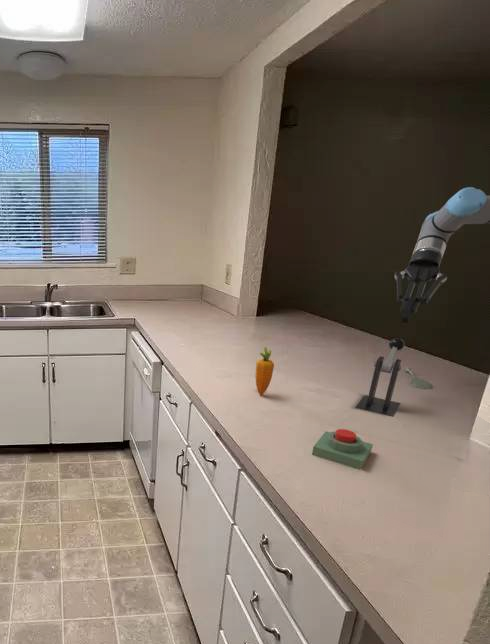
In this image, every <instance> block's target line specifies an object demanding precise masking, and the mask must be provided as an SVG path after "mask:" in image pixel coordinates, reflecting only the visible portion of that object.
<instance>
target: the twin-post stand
mask: <svg viewBox="0 0 490 644" xmlns="http://www.w3.org/2000/svg"><path fill="white" fill-rule="evenodd" d="M384 360H385V357H384V356H381V355H380V356H378V358H377V359H376V361H374V365H373V366H374V371H373V375H372V379H371V382H370V383H371V384H370V387H369V391H368V395H365V394H363V396H362V398H361V399H360V400H359V402H358V403H357V404H356V406H355V407H354V408H355V409H357V410H362V411H367V412H370V413H375V414H379V415H382V416H383V415H384V416H387V417H393V418H394V416H395V414H396V413H397V411H398V409H399V407H400V405H401V402H399V401H395V400H392V398H393V394H394V390H395V387H396V382H397V379H398V374H399V372H400V371H401V369H402V365H401V363H402V359H399V358H396V360H394V364H393V368H392V371H391V373H390V379H389V383H388V387H387V389H386V390H387V391H386V395H385V399H384V398H379V397H375V396H376V392H377V388H378V383H379V380H380V375H381V373H382V372H381V369H382V364H383V362H384Z"/></svg>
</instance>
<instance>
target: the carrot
mask: <svg viewBox="0 0 490 644" xmlns="http://www.w3.org/2000/svg"><path fill="white" fill-rule="evenodd" d="M263 351H264V352H262V351H260V352H259V353H258V354H259V355H260V356H261V357H262V358H261V359H258V360H257V361H256V364H255V386H256V391H257V393H258V394H259V396H262V395H264V394H265V392H267V389H268V388H269V386H270V384H271V381H272V377H273V373H274V369H275V368H274V366H275V362H273V360H271V359H270V357H271V354H272V350H271V349H269V350H268V348H267V346H265V347H263Z"/></svg>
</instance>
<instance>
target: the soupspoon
mask: <svg viewBox="0 0 490 644" xmlns="http://www.w3.org/2000/svg"><path fill="white" fill-rule="evenodd" d="M404 371H405V372H406V373H409V374H410V375H411V377H412V378H413V379H409V380H407V382H406V384H407V386H408V387H410V388H414V389H420V390H432V389H433V388H434V387H433V385H432V384H431V383H430V382H429V381H427V380H424V379H420V378H418V377H417V376H416V374H414V373H413V371H412V368H411V367H408V366H407V367H405V368H404Z"/></svg>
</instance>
